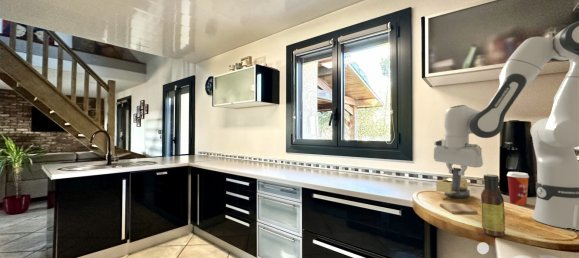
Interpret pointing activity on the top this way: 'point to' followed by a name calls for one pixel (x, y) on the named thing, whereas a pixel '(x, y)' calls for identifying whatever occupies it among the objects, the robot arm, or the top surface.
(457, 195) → the chuck base
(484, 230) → the sauce bottle
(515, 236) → the top surface
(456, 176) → the steel cylinder
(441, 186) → the chuck collar
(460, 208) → the wooden mat
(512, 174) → the paper cup
